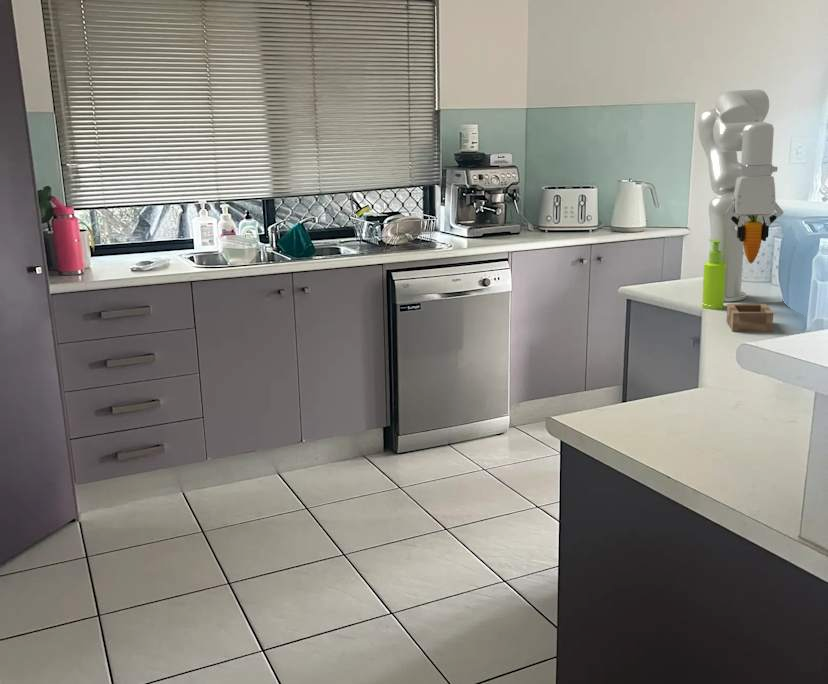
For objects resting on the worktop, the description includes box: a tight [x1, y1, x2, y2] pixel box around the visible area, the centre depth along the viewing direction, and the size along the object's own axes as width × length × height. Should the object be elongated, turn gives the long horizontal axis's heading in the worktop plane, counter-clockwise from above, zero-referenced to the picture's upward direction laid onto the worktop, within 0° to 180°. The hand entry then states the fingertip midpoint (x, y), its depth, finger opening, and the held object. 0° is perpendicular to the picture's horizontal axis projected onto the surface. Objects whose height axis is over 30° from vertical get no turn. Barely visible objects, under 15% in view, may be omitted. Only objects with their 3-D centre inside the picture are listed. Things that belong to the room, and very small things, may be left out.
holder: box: [726, 303, 774, 332], centre depth 227 cm, size 10×10×5 cm
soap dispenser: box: [701, 238, 725, 310], centre depth 246 cm, size 6×7×20 cm
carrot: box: [743, 215, 763, 264], centre depth 224 cm, size 5×5×15 cm
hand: (752, 239), depth 224 cm, fingers closed on carrot, 5 cm apart
